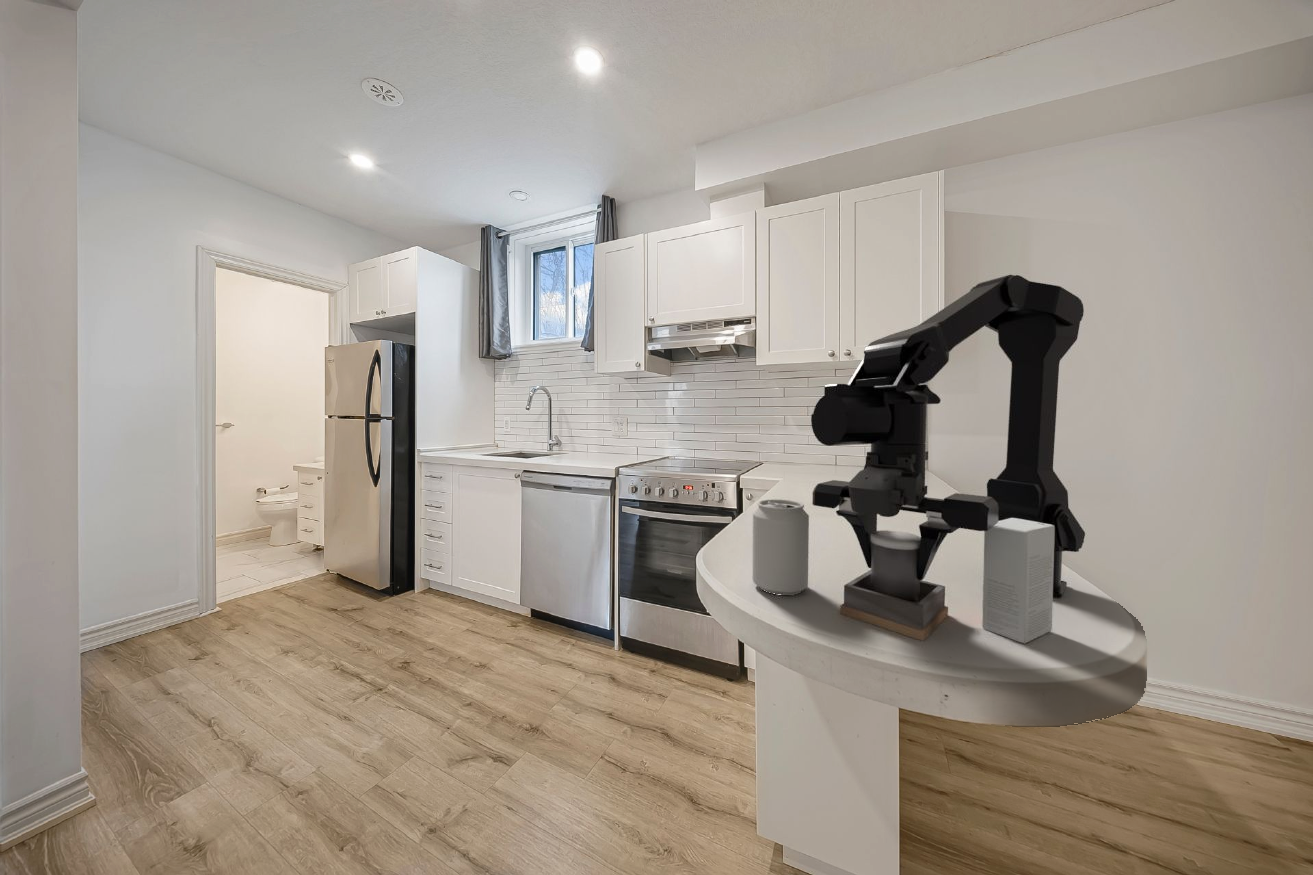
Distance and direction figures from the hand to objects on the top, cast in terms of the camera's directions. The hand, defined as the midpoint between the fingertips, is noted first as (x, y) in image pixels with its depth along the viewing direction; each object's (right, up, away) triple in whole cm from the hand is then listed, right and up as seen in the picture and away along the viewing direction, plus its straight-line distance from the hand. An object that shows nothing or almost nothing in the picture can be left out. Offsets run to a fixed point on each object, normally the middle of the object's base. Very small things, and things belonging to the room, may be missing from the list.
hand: (895, 573), depth 54 cm
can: (-11, -5, +9) cm, 15 cm away
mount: (0, -5, 0) cm, 5 cm away
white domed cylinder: (0, -3, 0) cm, 2 cm away
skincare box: (+11, -5, -4) cm, 13 cm away
